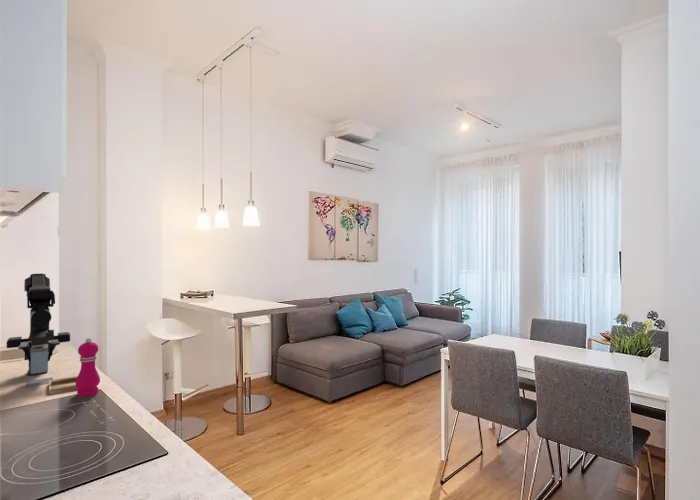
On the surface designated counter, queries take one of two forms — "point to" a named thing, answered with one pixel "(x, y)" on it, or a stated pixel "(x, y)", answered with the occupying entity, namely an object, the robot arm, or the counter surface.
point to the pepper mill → (87, 369)
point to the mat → (38, 382)
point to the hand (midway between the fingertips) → (39, 362)
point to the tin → (39, 358)
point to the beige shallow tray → (62, 385)
